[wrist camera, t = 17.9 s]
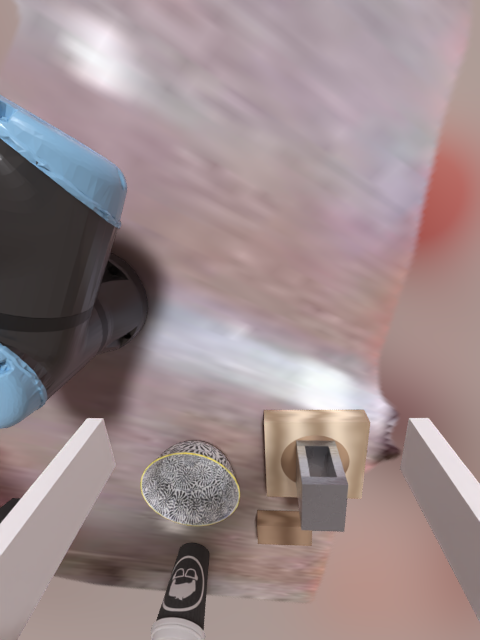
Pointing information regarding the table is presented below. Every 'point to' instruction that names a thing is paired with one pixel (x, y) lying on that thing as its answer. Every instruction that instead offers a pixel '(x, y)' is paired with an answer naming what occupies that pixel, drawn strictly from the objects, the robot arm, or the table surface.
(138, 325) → the robot arm
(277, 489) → the plate
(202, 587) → the coffee cup
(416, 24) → the table surface
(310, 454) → the housing
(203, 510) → the bowl
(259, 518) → the stand
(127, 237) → the table surface
